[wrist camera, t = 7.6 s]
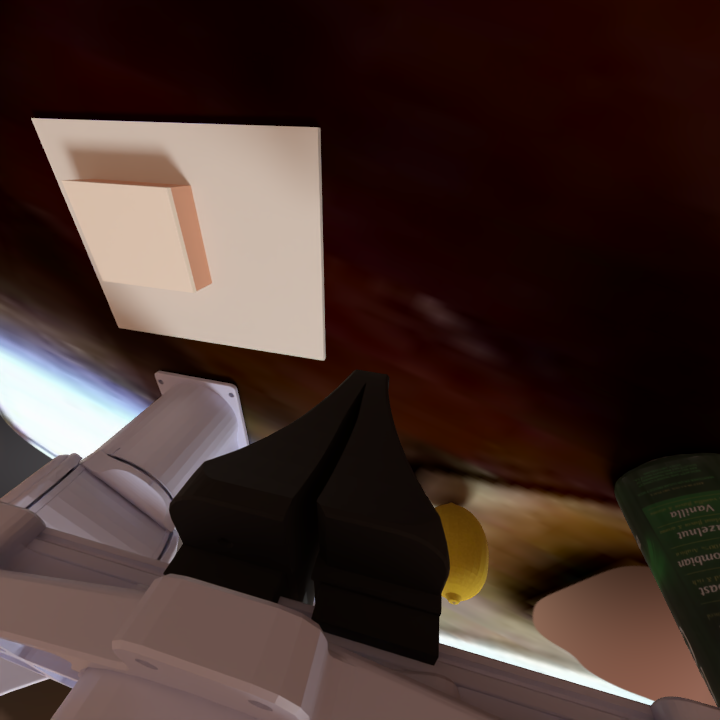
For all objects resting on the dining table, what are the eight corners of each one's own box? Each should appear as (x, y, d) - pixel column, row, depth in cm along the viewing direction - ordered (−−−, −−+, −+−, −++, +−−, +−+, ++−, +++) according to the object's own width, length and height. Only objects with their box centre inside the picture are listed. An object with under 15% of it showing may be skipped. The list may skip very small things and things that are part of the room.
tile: (193, 293, 20) (102, 280, 22) (212, 283, 22) (126, 272, 23) (166, 187, 17) (61, 180, 18) (190, 185, 19) (93, 178, 20)
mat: (325, 357, 24) (323, 360, 23) (122, 325, 27) (118, 327, 26) (320, 127, 16) (317, 127, 16) (38, 119, 19) (30, 118, 19)
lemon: (467, 528, 31) (473, 628, 24) (413, 509, 31) (404, 602, 24) (494, 498, 28) (510, 603, 21) (434, 476, 28) (431, 573, 21)
